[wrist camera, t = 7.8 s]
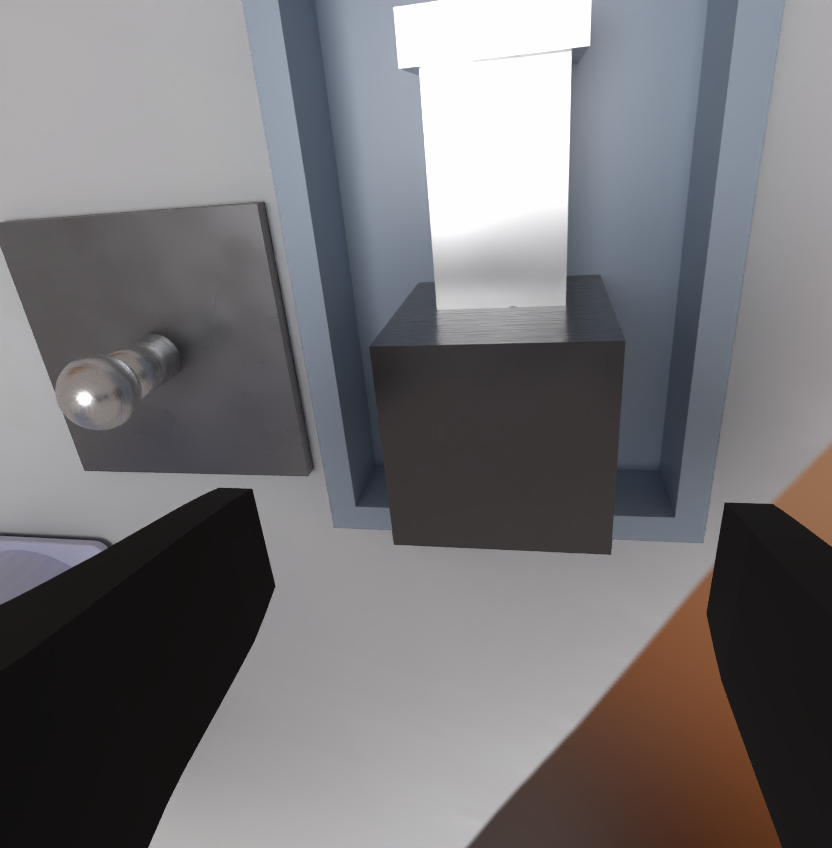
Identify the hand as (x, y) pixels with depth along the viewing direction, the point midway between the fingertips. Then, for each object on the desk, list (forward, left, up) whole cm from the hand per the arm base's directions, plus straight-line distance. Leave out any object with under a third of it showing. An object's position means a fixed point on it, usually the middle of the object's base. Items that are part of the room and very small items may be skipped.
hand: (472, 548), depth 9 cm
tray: (+3, 0, -10) cm, 10 cm away
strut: (+3, 0, -9) cm, 10 cm away
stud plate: (0, +11, -10) cm, 15 cm away
